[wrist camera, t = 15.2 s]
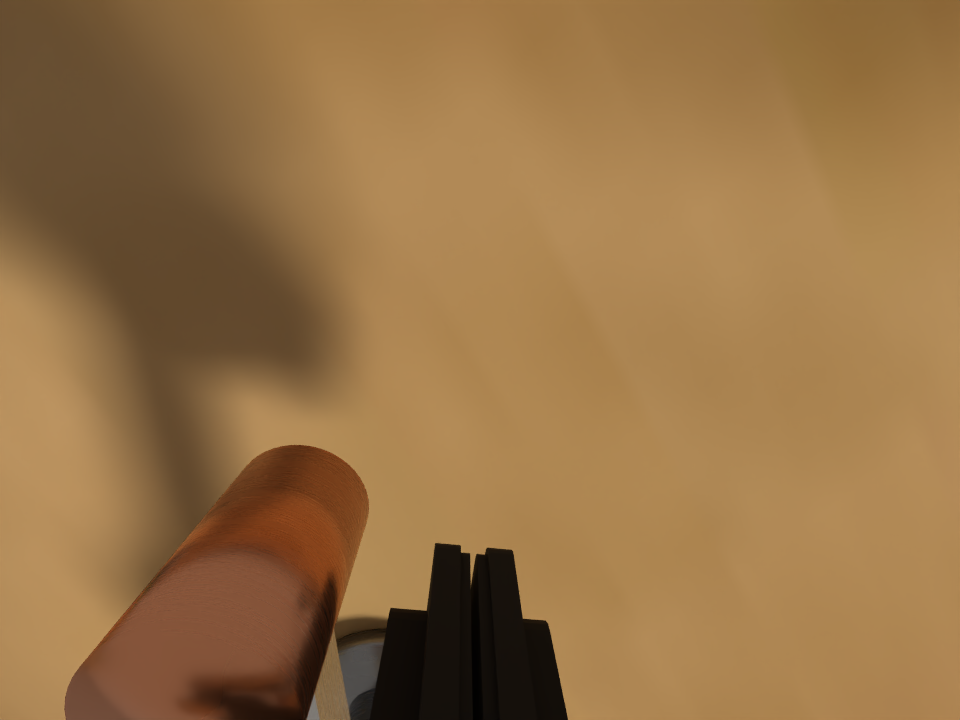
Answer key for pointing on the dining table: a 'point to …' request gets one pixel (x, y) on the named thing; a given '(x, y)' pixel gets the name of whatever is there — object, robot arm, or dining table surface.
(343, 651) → the lever post
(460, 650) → the robot arm
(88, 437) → the dining table surface
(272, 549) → the press lever
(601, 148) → the dining table surface
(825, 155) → the dining table surface
